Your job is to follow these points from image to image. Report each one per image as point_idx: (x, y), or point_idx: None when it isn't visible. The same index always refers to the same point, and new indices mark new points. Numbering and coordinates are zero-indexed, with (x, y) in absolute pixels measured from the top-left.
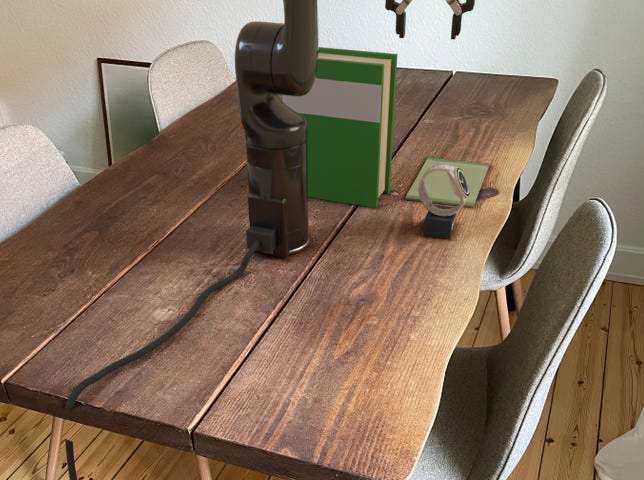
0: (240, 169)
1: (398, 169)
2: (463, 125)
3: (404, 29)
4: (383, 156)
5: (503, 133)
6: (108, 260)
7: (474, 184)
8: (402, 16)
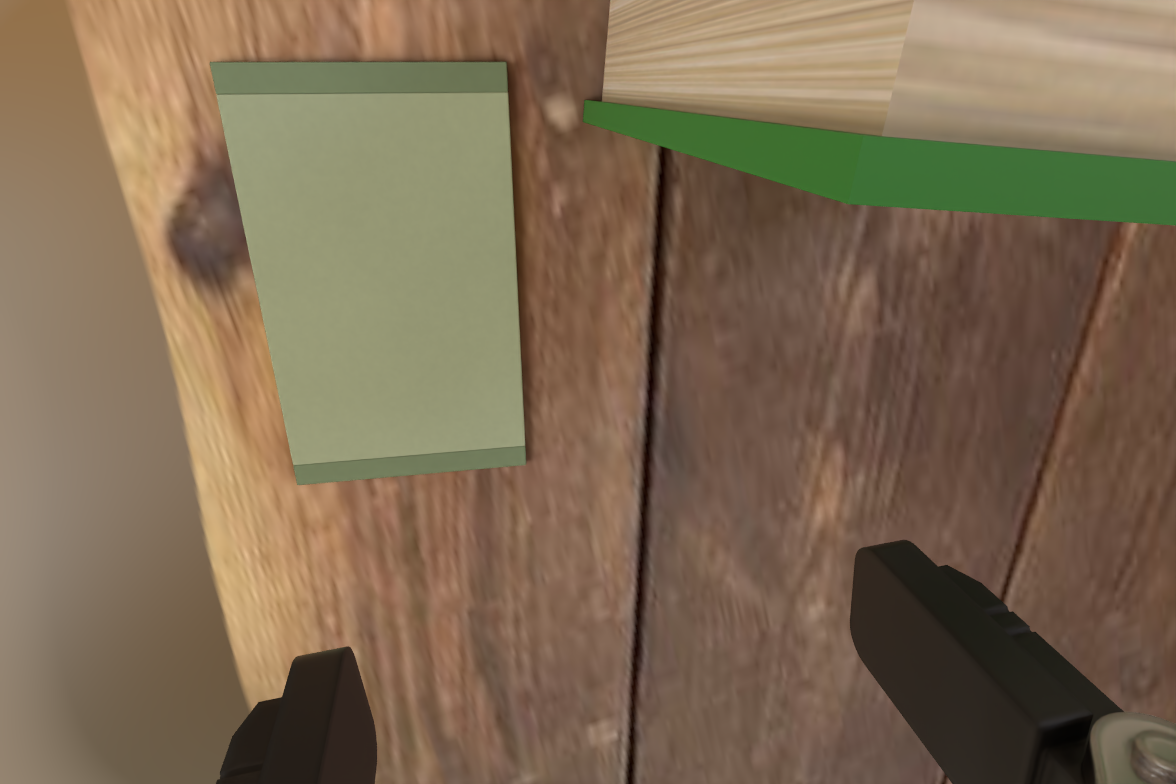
0: None
1: (602, 344)
2: (488, 745)
3: (895, 646)
4: (642, 54)
5: None
6: None
7: (282, 282)
8: (1046, 709)
